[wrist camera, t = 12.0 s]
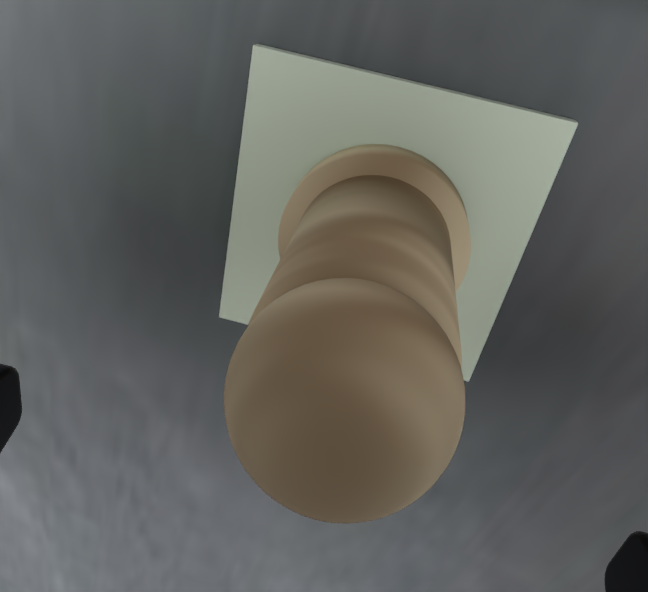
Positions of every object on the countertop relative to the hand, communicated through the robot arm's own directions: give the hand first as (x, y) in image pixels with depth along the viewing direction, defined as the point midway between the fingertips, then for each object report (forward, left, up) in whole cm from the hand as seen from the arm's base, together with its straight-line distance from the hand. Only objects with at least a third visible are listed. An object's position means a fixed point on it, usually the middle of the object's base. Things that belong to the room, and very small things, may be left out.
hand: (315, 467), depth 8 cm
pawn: (0, 0, -9) cm, 9 cm away
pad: (0, 0, -9) cm, 9 cm away
